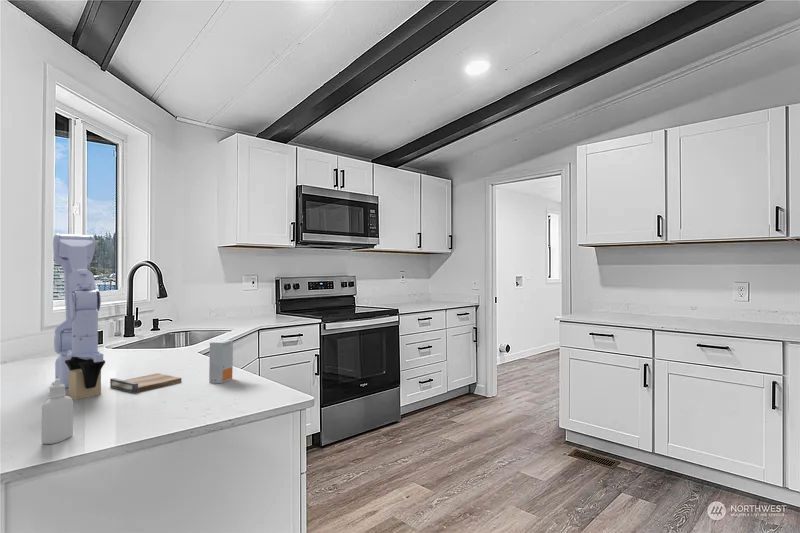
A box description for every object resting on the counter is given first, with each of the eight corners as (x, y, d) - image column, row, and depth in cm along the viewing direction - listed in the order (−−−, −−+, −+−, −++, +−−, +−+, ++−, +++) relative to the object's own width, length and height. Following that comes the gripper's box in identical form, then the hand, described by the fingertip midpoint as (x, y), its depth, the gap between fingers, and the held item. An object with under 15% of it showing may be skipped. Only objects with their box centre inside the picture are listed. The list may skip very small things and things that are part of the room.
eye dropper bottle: (36, 441, 90) (36, 380, 90) (69, 433, 95) (69, 374, 95) (45, 446, 88) (45, 383, 88) (78, 437, 93) (78, 377, 93)
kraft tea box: (68, 397, 122) (68, 370, 122) (93, 392, 127) (93, 366, 127) (76, 399, 120) (76, 372, 120) (100, 394, 125) (100, 368, 125)
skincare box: (221, 383, 136) (221, 342, 136) (208, 383, 136) (208, 342, 136) (233, 378, 141) (233, 339, 142) (220, 378, 142) (220, 339, 142)
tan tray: (109, 387, 131) (109, 378, 131) (157, 377, 144) (157, 369, 144) (133, 393, 125) (133, 384, 125) (181, 382, 137) (181, 373, 137)
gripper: (54, 335, 123) (54, 386, 123) (82, 339, 116) (82, 393, 116) (83, 332, 129) (83, 380, 129) (111, 335, 122) (111, 387, 122)
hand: (84, 386), depth 123 cm, fingers open, 5 cm apart
